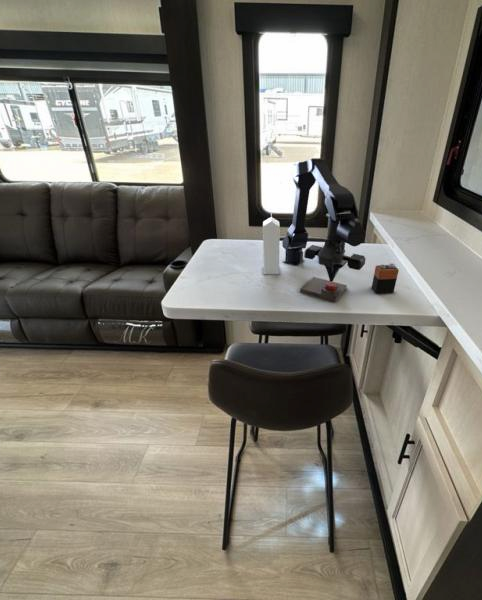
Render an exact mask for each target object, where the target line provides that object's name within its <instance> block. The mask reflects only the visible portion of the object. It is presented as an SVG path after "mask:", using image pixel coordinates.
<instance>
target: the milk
mask: <svg viewBox="0 0 482 600" xmlns="http://www.w3.org/2000/svg"><path fill="white" fill-rule="evenodd" d="M280 226H281V225H280V221H279V220H277V219H276V218H274V217H273V216H272V214H270V217H268V218H267V219H265V220H263V221H262V240H263V241H262V251H263V255H262V257H263V259H262V260H263V262H262V263H263V275H280V244H281V243H280V241H281V239H280V238H281V237H280V236H281V234H280V231H281V227H280Z"/></svg>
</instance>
